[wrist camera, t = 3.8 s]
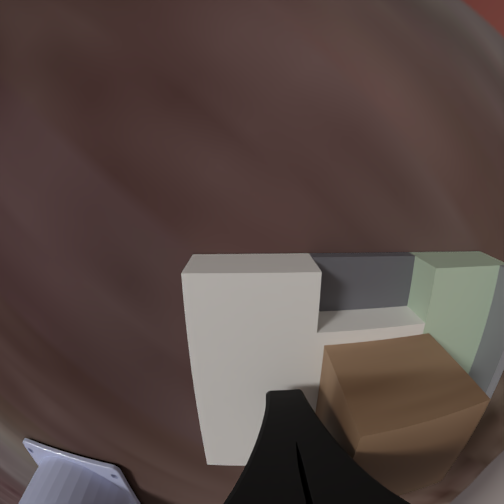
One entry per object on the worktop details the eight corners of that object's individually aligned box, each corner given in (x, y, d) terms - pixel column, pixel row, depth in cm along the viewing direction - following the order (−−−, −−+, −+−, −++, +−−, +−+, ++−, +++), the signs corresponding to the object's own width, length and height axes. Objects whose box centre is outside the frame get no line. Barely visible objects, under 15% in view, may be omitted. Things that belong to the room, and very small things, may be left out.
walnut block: (403, 413, 10) (440, 481, 7) (312, 428, 10) (331, 511, 7) (428, 333, 9) (490, 399, 6) (324, 345, 9) (360, 436, 6)
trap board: (433, 409, 13) (460, 450, 10) (210, 433, 13) (204, 490, 10) (479, 251, 11) (533, 276, 7) (192, 254, 11) (169, 293, 7)
